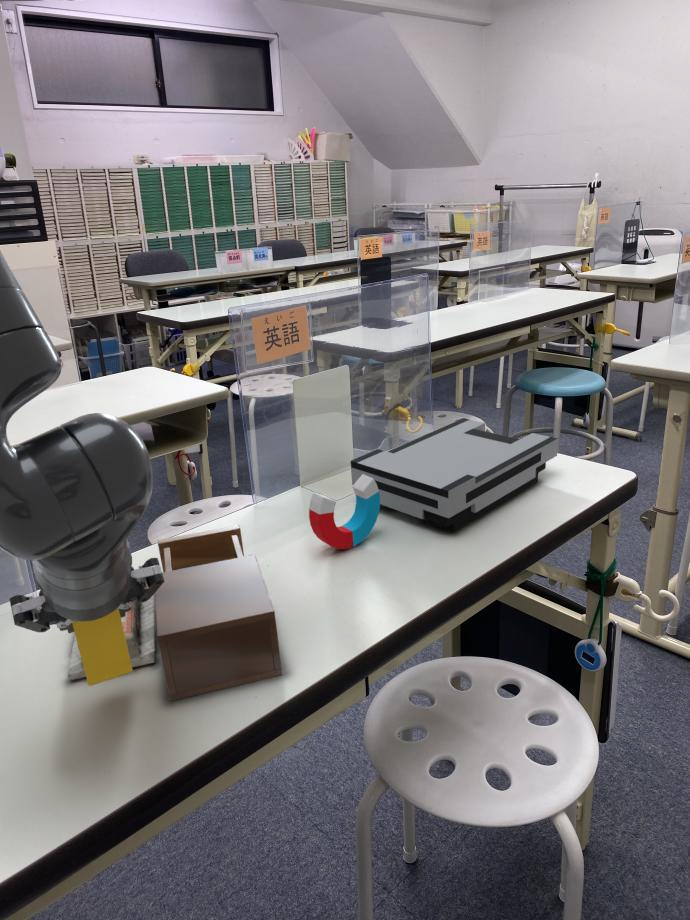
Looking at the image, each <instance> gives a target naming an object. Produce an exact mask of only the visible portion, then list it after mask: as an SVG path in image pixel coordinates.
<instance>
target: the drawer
mask: <svg viewBox="0 0 690 920" xmlns="http://www.w3.org/2000/svg"><path fill="white" fill-rule="evenodd" d="M242 539H243V538H242V531H241V527H240V525H232V526H227V527H222V528H217V529H216V528H215V529H211V530H204V531H200V532H195V533H188V534H184V535H178V536H171V537H168V538H167V537H166V538H161V539H157V547H158V552H159V557H160V563H161V570H162V573H163V572H168V571H173V570H178V569H183V568H188V567H194V566H199V565H204V564H209V563H214V562H219V561H224V560H229V559H234V558H240V557H245V553H244V545H243V540H242Z"/></svg>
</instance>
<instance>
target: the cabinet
mask: <svg viewBox="0 0 690 920" xmlns="http://www.w3.org/2000/svg"><path fill="white" fill-rule="evenodd" d="M162 574H163V578H164V583H163V584H162V585H161V586H160V587H159V589H158V590H157V591H156V592H155V607H156V636H157V641H158V646H159V653H160V657H161V662H162V667H163V672H164V677H165V682H166V687H167V693H168V698H169V702H174V701H178V700H181V699H187V698H191V697H194V696H199V695H202V694H203V695H204V694H207V693H211V692H215V691H219V690H224V689H227V688H232V687H236V686H240V685H244V684H250V683H253V682H257V681H262V680H265V679H269V678H274V677H278V676H282V675H283V670H282V669H283V668H282V661H281V653H280V643H279V635H278V629H277V620H276V619H277V618H276V612H275V609H274V606H273V603H272V599H271V597H270V594H269V591H268V588H267V586H266V582H265V580H264V576H263V574H262V570H261V568H260V565H259V562H258V559H257V557H256V554H251V555H246V556H245V555H244V557H240V558H234V559H229V560H224V561H219V562H214V563H209V564H204V565H199V566H194V567H188V568H183V569H178V570H173V571H168V572H163V571H162Z"/></svg>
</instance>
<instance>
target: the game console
mask: <svg viewBox="0 0 690 920" xmlns="http://www.w3.org/2000/svg"><path fill="white" fill-rule="evenodd" d="M558 445H559V438H557V437H553V436H548V435H544V434H539V433H535V432H532V433H530V434H527V435H526V436H524V437H522V438H517V437H512V436H507V435H503V434H499V433H494V432H489V431H486V422H483V421H478V420H474V419H470V418H465V417H463V418H460V419H458V420H456V421H453V422H451V423H449V424H446V425H445V426H443V427H440V428H438V429H436V430H433V431H431V432H429V433H426V434H424V435H422V436H420V437H417V438H415V439H413V440H410V441H408V442H406V443H404V444H400V445H399V446H396V447H393V448H391V449H390V450H387V451H386V450H382V449H379V448H377V449H375V450H372V451H370V452H368V453H365V454H363V455H361V456H359V457H356V458H353V459H351V460H350V471H351V472H350V473H351V475H350V476H351V486H353V485H354V484H355V482H356V481H357V480H358V479H359V478H360V476H361V475H362V474H364V475H366V476H368V477H371V478H373V479H374V481H375V482H376V484H377V487H378V490H379V495H380V508H384V509H386V510H389V511H393V510H396V511H398V512H400V513H403V514H407V515H409V516H412V517H414V518H418V519H421V520H423V521H424V523H425V524H429V525H431V526H434V527H436V528H439V529H443V530H445V531H448V532H450V533H453V534H454V533H456V532H457V531H459V530H461V529H463V528H464V527H466V526H468V525H470V524H471V523H472V522H475V521H476V520H478V519H479V518H481V517H483V516H484V515H486V514H487V513H489V512H491V511H493V510H494V509H496V508H497V507H499V506H501V505H503V504H504V503H506V502H508V501H509V500H510V499H512V498H514V497H516V496H517V495H519V494H521V493H522V492H524V491H526V490H527V489H529V488H530V487H532V486H534V485H535V484H537V483H538V482H539V473H541V472H542V471H544V470H545V469H546V467H547V462H549V461H550V460H552V459H554V458H556V457H558Z"/></svg>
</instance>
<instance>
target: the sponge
mask: <svg viewBox="0 0 690 920" xmlns="http://www.w3.org/2000/svg"><path fill="white" fill-rule="evenodd" d="M72 624H73V628H74V632H73V633H74V637H75V636H76V640H77V644H78V647H79V651H80V655H81V659H82V663H83V667H84V670H85V674H86V677H85V678H86V682H87V685H88V687H91V686H95V685H97V684H100V683H103V682H106V681H109V680H112V679H115V678H118V677H121V676H124V675H126V674H127V675H128V674H129V673H133V672H134V670H133V667H132V665H131V660H130V656H129V652H128V647H127V643H126V639H125V634H124V630H123V626H122V621H121V617H120V612H119V609H117V610H115V611H113V612H112V613H110V614H108V615H107V616H105V617H102V618H100V619H97V620H93V621H77V622H74V623H72Z"/></svg>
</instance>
